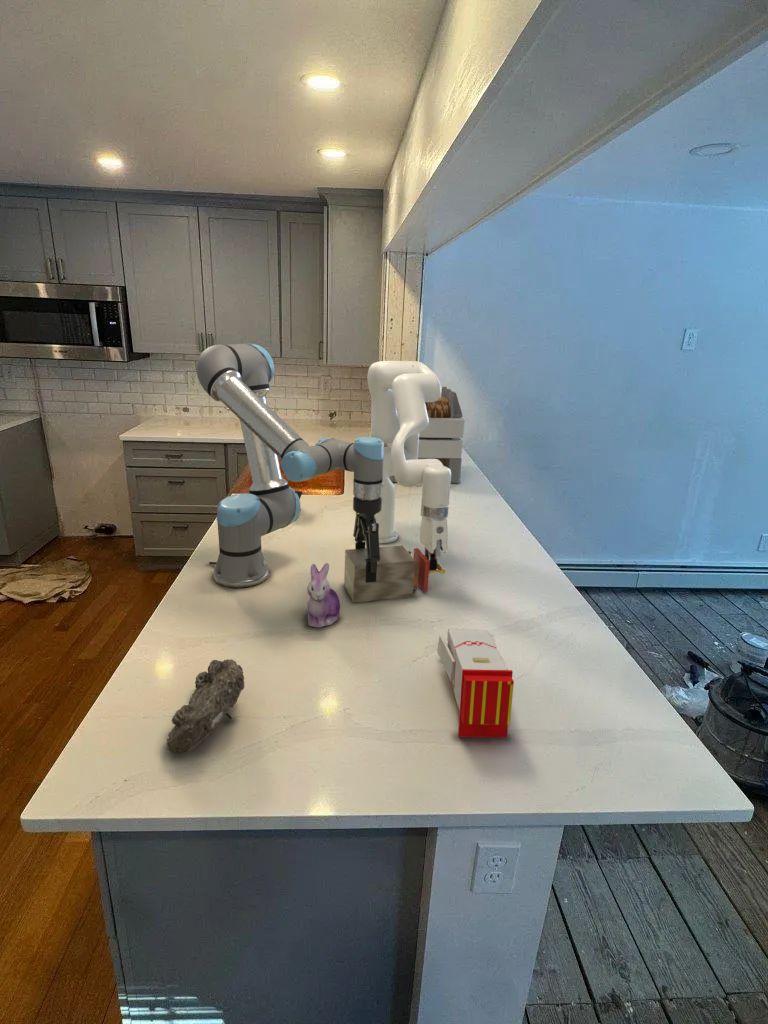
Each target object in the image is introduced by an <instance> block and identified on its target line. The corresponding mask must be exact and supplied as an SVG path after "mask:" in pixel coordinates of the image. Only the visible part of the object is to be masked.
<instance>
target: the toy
mask: <svg viewBox="0 0 768 1024" xmlns="http://www.w3.org/2000/svg"><path fill="white" fill-rule="evenodd" d="M446 640H447V643H446V641H445V639H444V636H443V635H442V634H439V637H438V646H437V656H438V657H439V659H440V661H441V663H442V666H443V668H444V670H445V672H446V674H447V677H448V679H449V681H450V684H451V687H452V690H453V693H454V697H455V701H456V705H457V708H458V711H459V714H458V715H459V716H458V730H457V731H458V732H457V737H458V738H508V731H509V726H510V725H511V717H512V707H513V697H514V696H513V695H514V684H515V680H514V679H513V673H514V671H513V670H512V669H508V667H507V665H506V662H505V661H504V659H503V658H502V655H501V653H500V651H499V649H498V647H497V643H496V639H495V637H494V635H493V634H491V632H490V631H489V629H467V628H466V629H465V628H463V629H461V628H460V629H459V628H448V630H447V639H446Z"/></svg>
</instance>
